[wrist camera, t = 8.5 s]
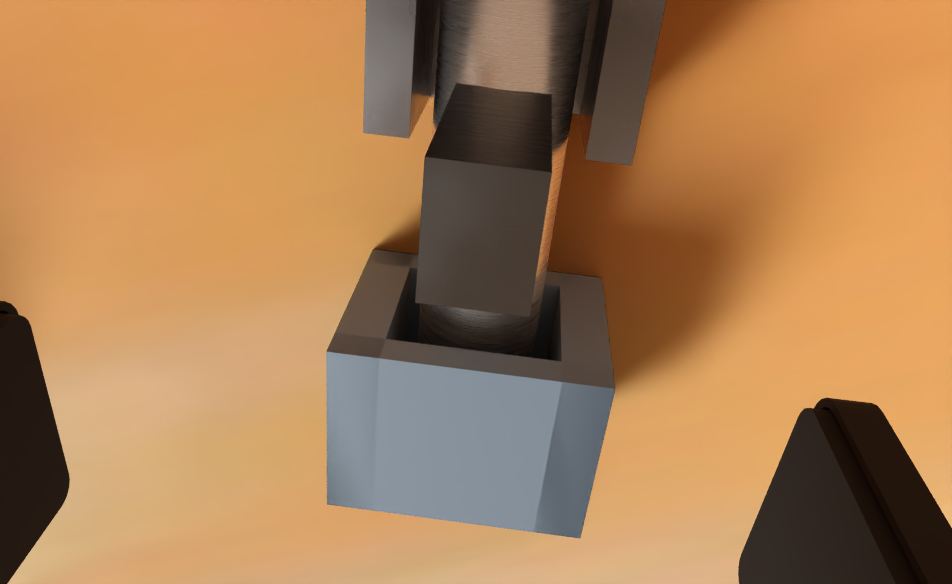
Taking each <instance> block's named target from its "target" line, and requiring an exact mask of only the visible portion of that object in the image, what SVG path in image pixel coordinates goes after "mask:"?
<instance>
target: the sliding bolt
mask: <svg viewBox="0 0 952 584" xmlns="http://www.w3.org/2000/svg"><path fill="white" fill-rule="evenodd" d="M590 1H591V0H441V11H440V26H439V40H438V55H437V69H436V84H435V98H434V113H433V127H432V141H431V143H430V146H429V148H428V150H427V153H426V155H425V161H424V176H423V191H422V207H421V222H420V238H419V253H418V268H417V284H416V299H415V303H420V316H419V330H418V343H421V344H429V345H436V346H444V347H452V348H460V349H467V350H475V351H483V352H491V353H499V354H506V355H514V356H522V357H530V358H532V357H533V351H534V345H535V339H536V333H537V326H538V320H539V314H540V308H541V302H542V296H543V290H544V283H545V277H546V271H547V265H548V259H549V253H550V247H551V240H552V234H553V228H554V222H555V216H556V210H557V204H558V197H559V191H560V185H561V179H562V173H563V167H564V160H565V154H566V148H567V142H568V136H569V130H570V124H571V117H572V111H573V105H574V99H575V93H576V87H577V81H578V74H579V68H580V62H581V56H582V50H583V44H584V38H585V31H586V25H587V19H588V13H589V7H590Z"/></svg>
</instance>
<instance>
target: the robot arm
mask: <svg viewBox="0 0 952 584" xmlns="http://www.w3.org/2000/svg"><path fill="white" fill-rule="evenodd" d="M69 481H70V479H69V473H68V469H67V465H66V461H65V457H64V453H63V449H62V445H61V442H60V438H59V434H58V430H57V426H56V422H55V418H54V414H53V411H52V407H51V403H50V399H49V395H48V391H47V387H46V383H45V380H44V376H43V372H42V368H41V364H40V360H39V356H38V352H37V348H36V345H35V341H34V337H33V333H32V329H31V326H30V323H29V321H28V320H27V319H26V318H25V317H23V316H20V315H18V312H17V310H16V308H15V307H14V306H13V305H12V304H10V303H7V302H5V301H0V584H7V583H8V582H9V580H10V579H11V578H12V576H13V575H14V573H15V572H16V570H17V569H18V568H19V566H20V565H21V563H22V562H23V561H24V559H25V558H26V556H27V555H28V553H29V552H30V551H31V549H32V548H33V546H34V545H35V543H36V542H37V541H38V539H39V538H40V536H41V535H42V534H43V532H44V531H45V529H46V528H47V526H48V525H49V524H50V522H51V521H52V519H53V518H54V516H55V515H56V514H57V512H58V511H59V509H60V508H61V506H62V505H63V503H64V501H65V499H66V496H67V493H68V489H69ZM738 575H739V584H952V528H951V526H950V524H949V523H948V521H947V519H946V518H945V516H944V514H943V513H942V511H941V509H940V508H939V506H938V504H937V503H936V501H935V499H934V498H933V496H932V494H931V493H930V491H929V489H928V487H927V486H926V484H925V482H924V481H923V479H922V477H921V476H920V474H919V472H918V471H917V469H916V467H915V466H914V464H913V462H912V461H911V459H910V457H909V456H908V454H907V452H906V451H905V449H904V447H903V446H902V444H901V442H900V440H899V439H898V437H897V435H896V434H895V432H894V430H893V429H892V427H891V425H890V424H889V422H888V420H887V419H886V417H885V415H884V414H883V412H882V411H881V409H880V408H879V407H878V406H877V405H875V404H872V403H866V402H857V401H849V400H840V399H832V398H824V399H821V400H820V401H819V402H818V403H817V404H816V406H815V408H814V409H813V408H806V409H804V410H803V411H802V412H801V413H800V415H799V417H798V419H797V421H796V424H795V426H794V428H793V431H792V433H791V436H790V438H789V441H788V443H787V445H786V448H785V450H784V453H783V455H782V457H781V460H780V462H779V465H778V467H777V470H776V472H775V474H774V477H773V479H772V482H771V484H770V486H769V489H768V491H767V494H766V496H765V499H764V501H763V503H762V506H761V508H760V511H759V513H758V515H757V518H756V520H755V523H754V525H753V527H752V530H751V532H750V535H749V537H748V540H747V542H746V544H745V547H744V549H743V552H742V554H741V557H740V561H739V573H738Z"/></svg>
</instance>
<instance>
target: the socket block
mask: <svg viewBox="0 0 952 584" xmlns="http://www.w3.org/2000/svg"><path fill="white" fill-rule="evenodd" d="M417 268H418V255H416V254H408V253H400V252H392V251H384V250H376V249H373V250H372V253H371V255H370V257H369V259H368V261H367V264H366V266H365V268H364V270H363V272H362V275H361V277H360V279H359V281H358V283H357V286H356V288H355V290H354V292H353V294H352V297H351V299H350V301H349V303H348V305H347V308H346V310H345V312H344V314H343V316H342V319H341V321H340V323H339V325H338V327H337V330H336V332H335V334H334V336H333V338H332V341H331V343H330V345H329V347H328V349H327V504H328V505H336V506H343V507H351V508H358V509H366V510H373V511H380V512H388V513H395V514H403V515H410V516H418V517H425V518H432V519H440V520H447V521H455V522H462V523H470V524H477V525H485V526H492V527H499V528H507V529H514V530H522V531H529V532H537V533H544V534H551V535H559V536H566V537H574V538H580V537H581V533H582V529H583V524H584V520H585V516H586V512H587V507H588V503H589V499H590V495H591V490H592V486H593V482H594V478H595V474H596V469H597V465H598V461H599V457H600V452H601V448H602V444H603V440H604V435H605V431H606V427H607V423H608V418H609V414H610V410H611V406H612V401H613V397H614V393H615V381H614V373H613V365H612V357H611V348H610V340H609V332H608V324H607V316H606V307H605V299H604V291H603V283H602V278H599V277H591V276H583V275H575V274H567V273H559V272H551V271H546V277H545V283H544V290H543V296H542V302H541V308H540V314H539V320H538V326H537V333H536V339H535V345H534V351H533V357H532V358H530V357H522V356H514V355H506V354H499V353H491V352H483V351H475V350H467V349H460V348H452V347H444V346H436V345H429V344H421V343H418V330H419V316H420V303H415V299H416V284H417Z"/></svg>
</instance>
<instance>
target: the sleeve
mask: <svg viewBox="0 0 952 584" xmlns="http://www.w3.org/2000/svg"><path fill="white" fill-rule="evenodd" d="M665 4H666V0H591V1H590V7H589V13H588V19H587V25H586V31H585V38H584V44H583V50H582V56H581V62H580V68H579V74H578V81H577V87H576V93H575V99H574V105H573V111H572V114H580V118H581V127H582V135H583V144H584V153H585V160H591V161H600V162H608V163H616V164H624V165H632V161H633V157H634V152H635V147H636V142H637V138H638V133H639V128H640V123H641V119H642V114H643V109H644V104H645V100H646V95H647V90H648V85H649V81H650V76H651V71H652V66H653V62H654V57H655V52H656V47H657V43H658V38H659V33H660V28H661V23H662V19H663V14H664V9H665ZM440 11H441V0H366V32H365V77H364V123H363V133H369V134H377V135H386V136H394V137H402V138H409V137H410V135H411V133H412V131H413V129H414V127H415V125H416V123H417V121H418V119H419V117H420V115H421V114H422V112H423V110H424V108H425V106H426V104H427V102H428V100H429V98H430V97H435V84H436V69H437V55H438V40H439V26H440Z"/></svg>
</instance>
